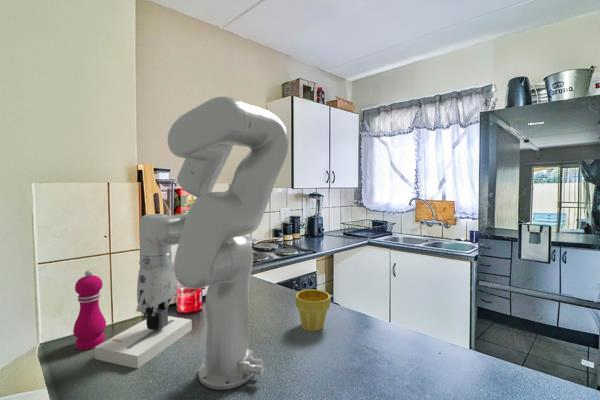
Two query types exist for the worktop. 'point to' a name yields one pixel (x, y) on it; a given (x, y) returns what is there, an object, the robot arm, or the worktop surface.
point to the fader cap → (161, 317)
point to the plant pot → (312, 308)
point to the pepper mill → (89, 313)
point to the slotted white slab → (141, 342)
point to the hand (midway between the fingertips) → (157, 325)
